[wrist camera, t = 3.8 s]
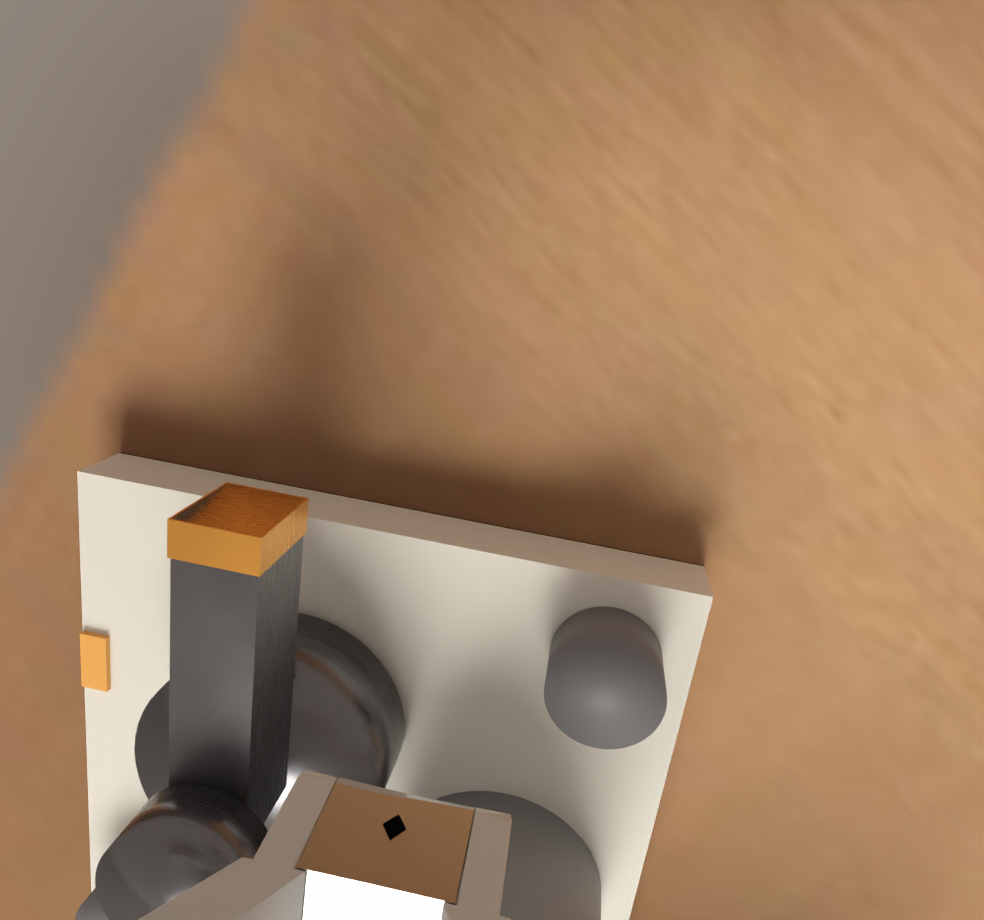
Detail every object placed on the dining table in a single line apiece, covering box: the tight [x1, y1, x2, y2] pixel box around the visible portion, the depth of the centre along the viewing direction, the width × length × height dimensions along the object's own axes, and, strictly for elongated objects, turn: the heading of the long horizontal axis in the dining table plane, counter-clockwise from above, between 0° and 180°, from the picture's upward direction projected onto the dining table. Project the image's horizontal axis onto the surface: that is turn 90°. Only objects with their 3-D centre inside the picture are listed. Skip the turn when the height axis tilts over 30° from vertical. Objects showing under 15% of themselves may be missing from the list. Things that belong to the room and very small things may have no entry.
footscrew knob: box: [95, 482, 405, 920], centre depth 19 cm, size 12×7×7 cm, turn 172°
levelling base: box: [76, 453, 713, 920], centre depth 22 cm, size 19×19×9 cm
